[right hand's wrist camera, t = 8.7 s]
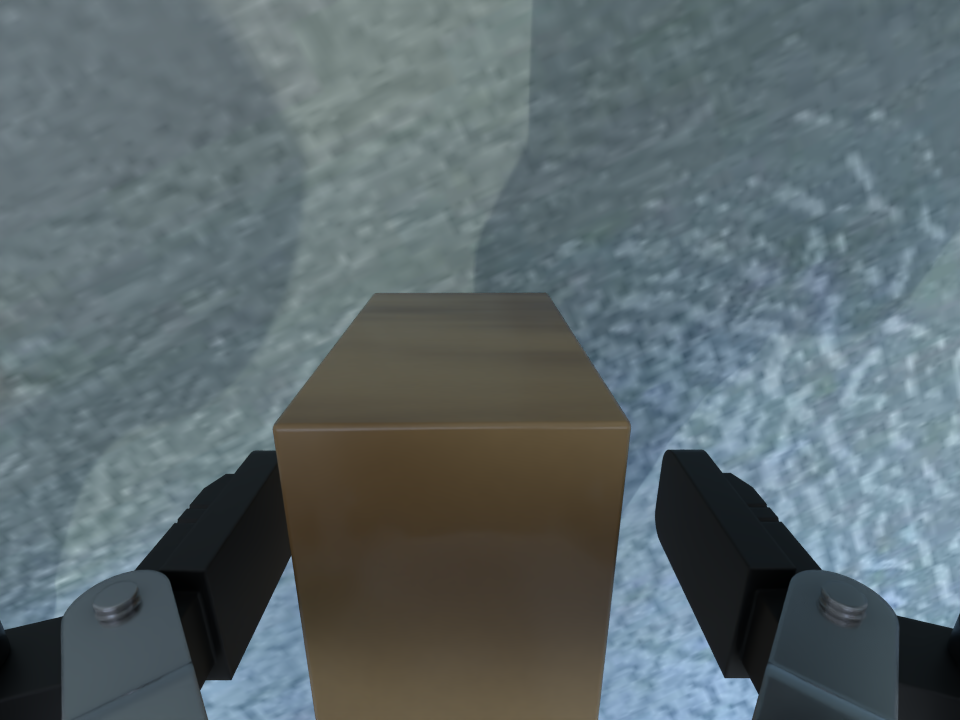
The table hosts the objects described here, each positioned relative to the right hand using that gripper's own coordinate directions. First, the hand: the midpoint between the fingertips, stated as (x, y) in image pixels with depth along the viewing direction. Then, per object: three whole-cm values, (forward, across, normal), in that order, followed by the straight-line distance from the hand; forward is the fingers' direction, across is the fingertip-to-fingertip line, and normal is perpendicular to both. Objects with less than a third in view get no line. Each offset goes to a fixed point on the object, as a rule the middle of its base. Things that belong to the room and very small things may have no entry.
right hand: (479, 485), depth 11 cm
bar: (+5, -1, -11) cm, 12 cm away
